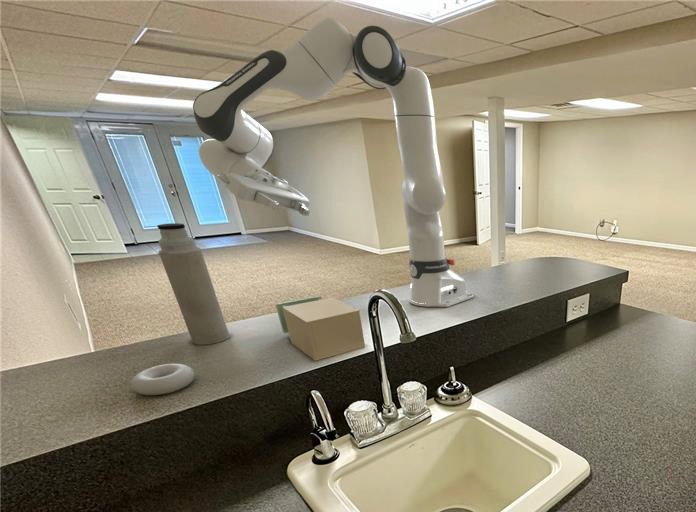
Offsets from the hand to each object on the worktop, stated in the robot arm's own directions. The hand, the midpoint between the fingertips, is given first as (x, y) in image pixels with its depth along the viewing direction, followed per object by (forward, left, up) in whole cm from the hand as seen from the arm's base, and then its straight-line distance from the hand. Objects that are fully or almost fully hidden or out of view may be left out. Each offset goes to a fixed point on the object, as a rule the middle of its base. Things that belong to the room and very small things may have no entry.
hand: (292, 210), depth 102 cm
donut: (+38, +17, -30) cm, 51 cm away
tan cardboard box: (+5, +18, -30) cm, 35 cm away
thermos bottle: (+25, -6, -30) cm, 40 cm away
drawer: (+5, +8, -29) cm, 31 cm away
